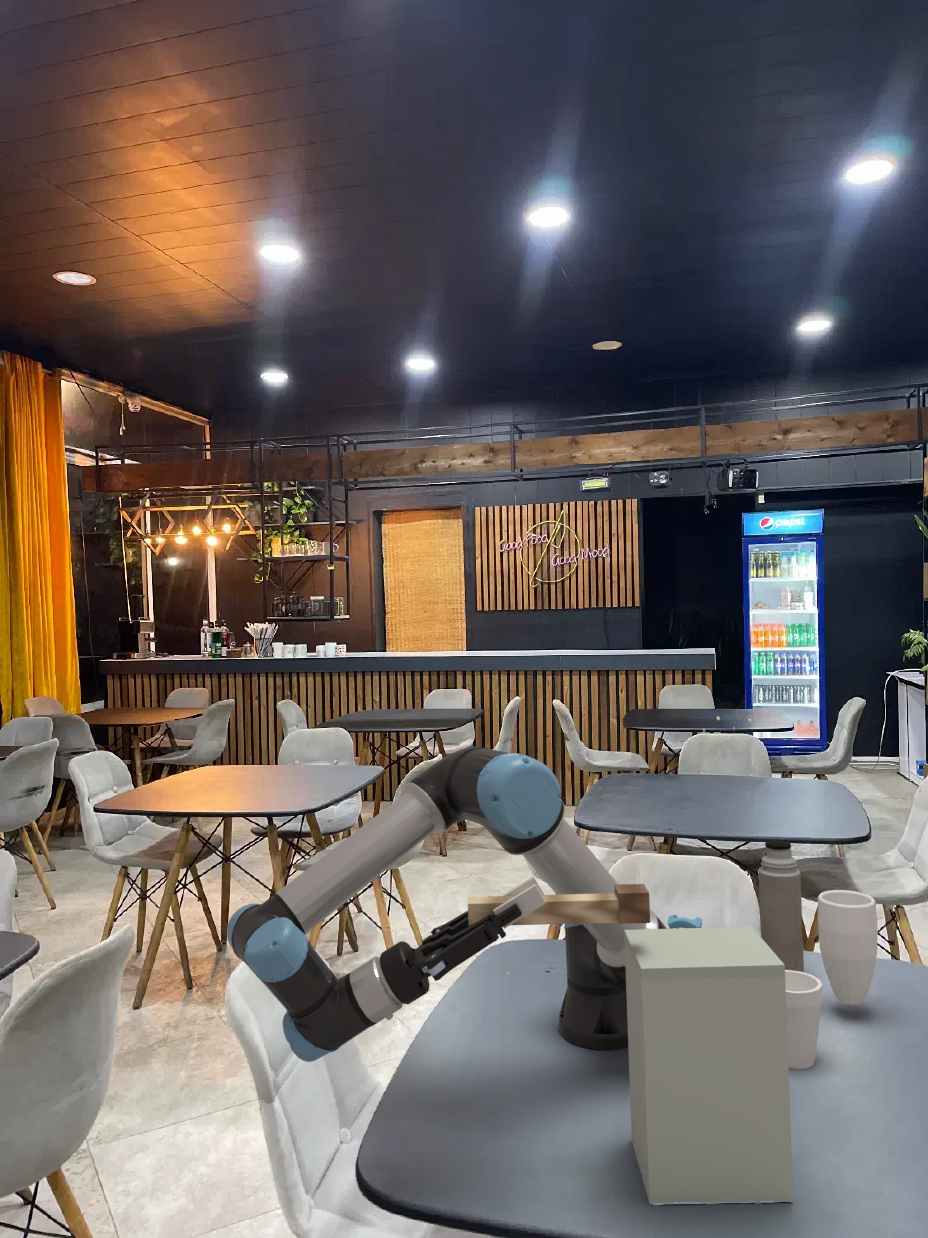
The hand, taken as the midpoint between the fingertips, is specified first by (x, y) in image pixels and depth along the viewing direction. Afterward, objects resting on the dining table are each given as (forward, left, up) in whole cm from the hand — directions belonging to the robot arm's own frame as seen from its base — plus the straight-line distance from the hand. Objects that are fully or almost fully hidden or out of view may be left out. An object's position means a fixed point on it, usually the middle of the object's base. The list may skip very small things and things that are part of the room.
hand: (539, 889), depth 120 cm
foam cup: (+10, +51, -39) cm, 64 cm away
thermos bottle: (-6, +79, -38) cm, 88 cm away
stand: (+15, +15, -38) cm, 44 cm away
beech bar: (+2, +2, -4) cm, 5 cm away
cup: (+10, +73, -39) cm, 83 cm away
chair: (-23, +71, -39) cm, 84 cm away
